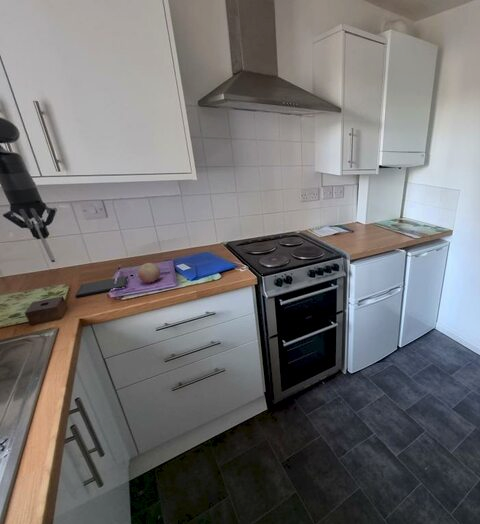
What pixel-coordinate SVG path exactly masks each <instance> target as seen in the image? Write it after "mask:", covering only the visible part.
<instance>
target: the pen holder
mask: <svg viewBox="0 0 480 524" xmlns="http://www.w3.org/2000/svg"><path fill="white" fill-rule="evenodd" d="M68 309H69V307H68V305H67V302H66V300H65V298H64V296H63V295H62V296H57V297H51V298H46V299H45V298H44V299H41V300H35V301H32V302H31V304H29V306H28V307H27V309H26V310H25V311H24V315H25V318H26V319H27V321H28V323H29V325H30V326H35V325H40V324H45V323H50V322H53V321H54V322H55V321H58V319H59V320H62V319H63V318H64V316H65V314H66V312H67V311H68Z"/></svg>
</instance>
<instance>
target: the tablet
mask: <svg viewBox="0 0 480 524" xmlns="http://www.w3.org/2000/svg"><path fill="white" fill-rule="evenodd" d="M115 278H117V282H116V284H115V283H114V282H115ZM115 278H108V279H104V280H98V281H92V282H86V283H82V284H80V285H79V286H80V287H79V289H78V290H77V292H76V294H75V298H76V299H79V298H84V297H91V296H95V295H96V296H97V295H100V294H105V293H110V292H109V291H110V290H111V289H113V288H122V287H126V283H127V279H128V278H129V276H128V275H125V276H120V277H115ZM128 280H129V279H128ZM127 284H128V283H127ZM126 288H127V287H126Z"/></svg>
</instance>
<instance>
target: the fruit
mask: <svg viewBox="0 0 480 524" xmlns="http://www.w3.org/2000/svg"><path fill="white" fill-rule="evenodd" d="M137 276H138V278H139V280H140V281H142V282H143V283H146V284H151V282H152V283H154V282H155V280H156V281H157V280H158V279H159V278H160V276H161V269H160V267H159V266H158V265H156V264H155V263H153V262H145V263H144V264H142V265H141V266H140V267H139V269H138V271H137Z"/></svg>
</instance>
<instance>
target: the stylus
mask: <svg viewBox="0 0 480 524" xmlns="http://www.w3.org/2000/svg"><path fill="white" fill-rule="evenodd" d="M34 226H35V228H36V230H37V232H38V235H39V237H40V239H39V240H40V241H41V243H42V245H43V247H44V250H45V252H46V254H47V256H48V259H49V261H51V263H55V262H56V258H55V256H54V255H53V252H52V250H51V247H50V245H49V243H48V241H47V238H43V236H42V234H41V232H40V230H39V228H40V227H39V226H38V223H35V224H34Z"/></svg>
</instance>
